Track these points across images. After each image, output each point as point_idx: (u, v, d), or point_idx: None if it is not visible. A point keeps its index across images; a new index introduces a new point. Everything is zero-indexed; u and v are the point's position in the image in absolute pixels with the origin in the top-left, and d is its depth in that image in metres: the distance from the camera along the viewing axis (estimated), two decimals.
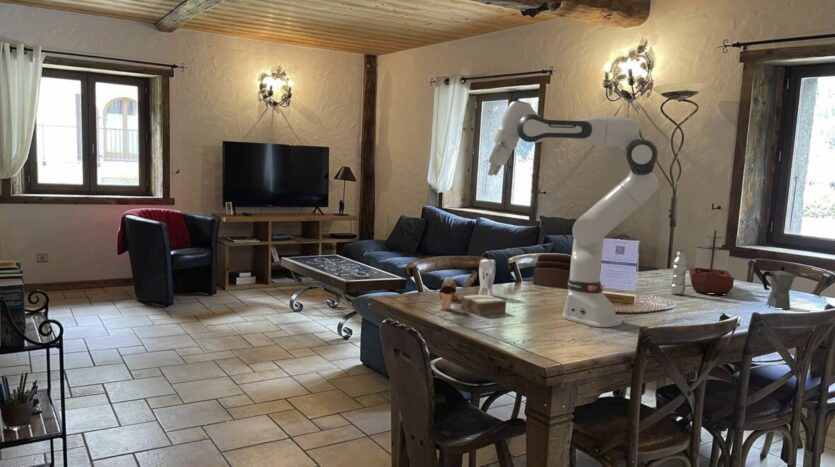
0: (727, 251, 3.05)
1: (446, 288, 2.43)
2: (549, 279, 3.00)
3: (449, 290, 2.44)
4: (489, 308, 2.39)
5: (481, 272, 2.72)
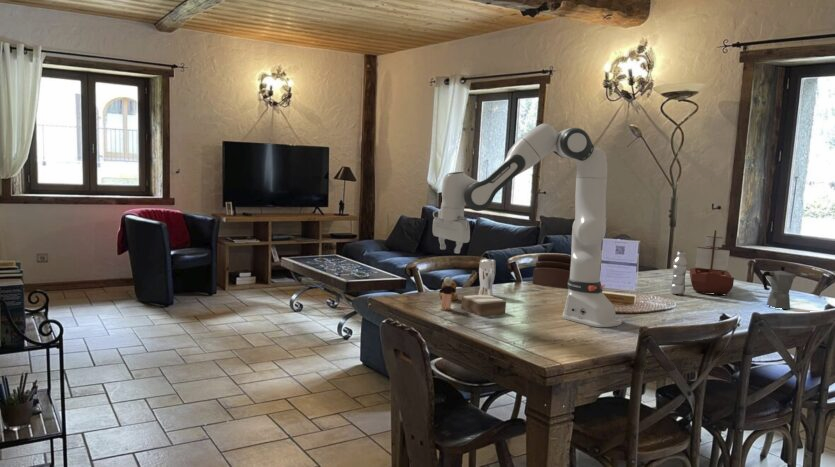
0: (727, 251, 3.05)
1: (446, 288, 2.43)
2: (549, 278, 3.01)
3: (449, 290, 2.44)
4: (489, 308, 2.39)
5: (481, 272, 2.72)
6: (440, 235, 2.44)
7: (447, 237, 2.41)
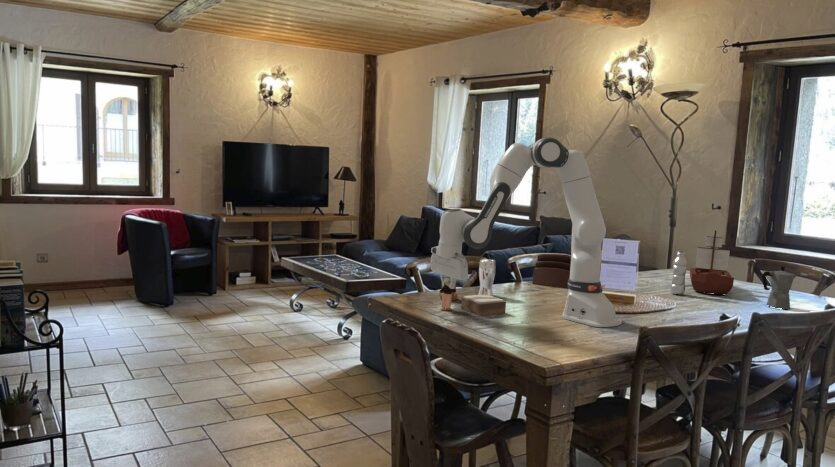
0: (727, 251, 3.05)
1: (446, 288, 2.43)
2: (549, 278, 3.01)
3: (449, 290, 2.44)
4: (489, 308, 2.39)
5: (481, 272, 2.72)
6: (439, 271, 2.46)
7: (445, 274, 2.42)
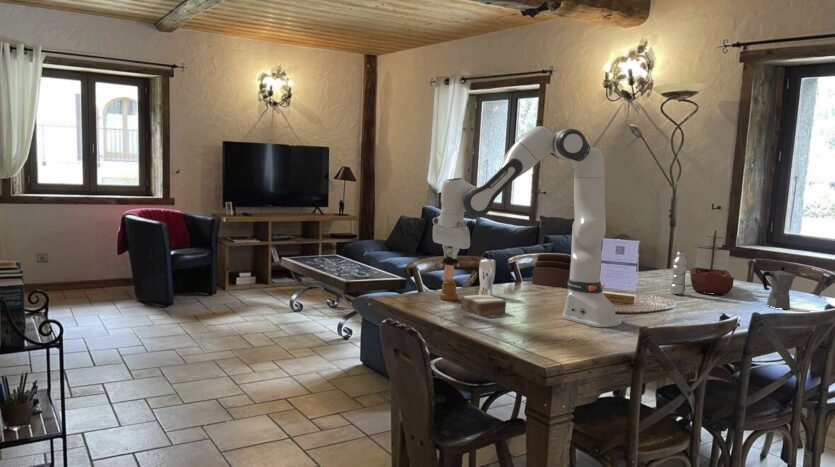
0: (727, 251, 3.05)
1: (448, 259, 2.42)
2: (548, 278, 3.02)
3: (451, 261, 2.42)
4: (489, 308, 2.39)
5: (481, 272, 2.72)
6: (441, 242, 2.45)
7: (447, 243, 2.41)
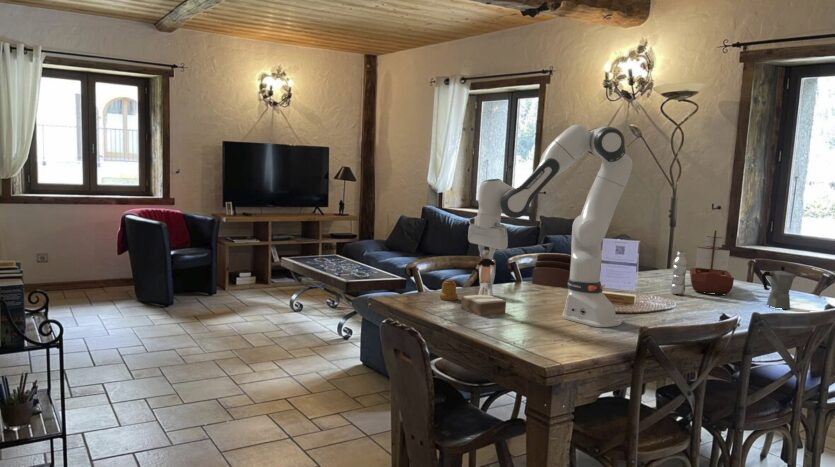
0: (727, 251, 3.05)
1: (485, 261, 2.42)
2: (548, 278, 3.02)
3: (488, 263, 2.42)
4: (489, 308, 2.39)
5: None
6: (477, 242, 2.45)
7: (484, 244, 2.41)
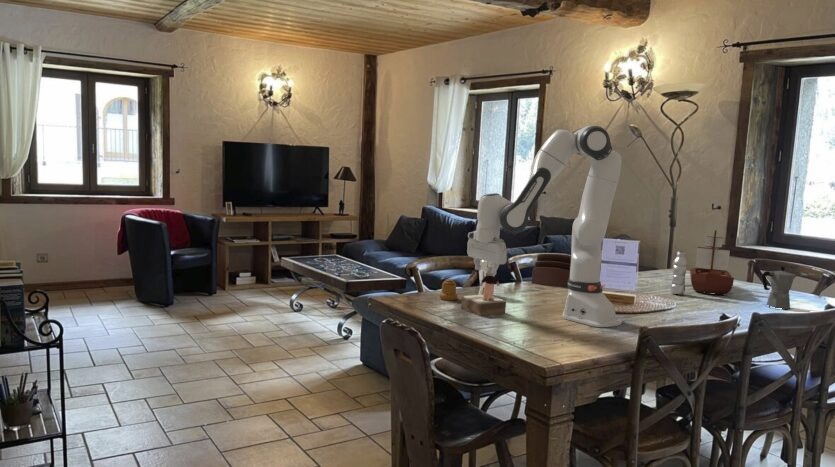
0: (727, 251, 3.05)
1: (488, 278, 2.41)
2: (548, 278, 3.03)
3: (491, 280, 2.41)
4: (489, 308, 2.39)
5: (481, 272, 2.72)
6: (476, 256, 2.46)
7: (483, 258, 2.42)
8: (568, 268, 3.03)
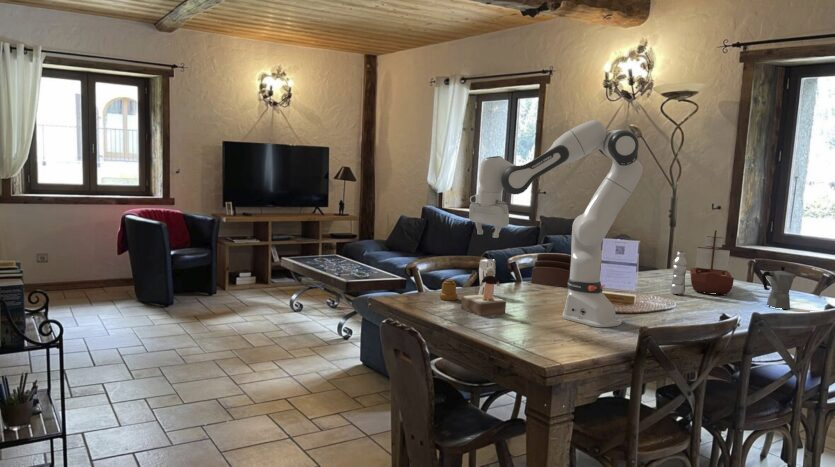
0: (727, 251, 3.05)
1: (488, 278, 2.41)
2: (547, 277, 3.03)
3: (491, 280, 2.41)
4: (489, 308, 2.39)
5: (481, 272, 2.72)
6: (478, 220, 2.44)
7: (485, 222, 2.41)
8: (568, 268, 3.04)
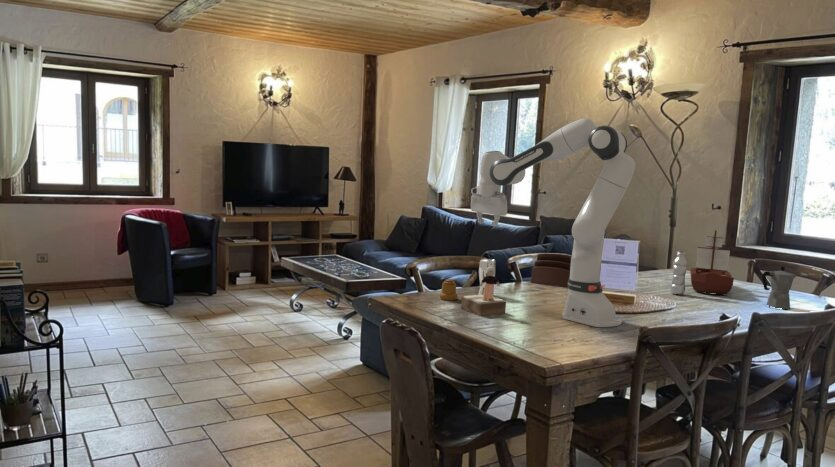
0: (727, 251, 3.05)
1: (488, 278, 2.41)
2: (547, 277, 3.04)
3: (491, 280, 2.41)
4: (489, 308, 2.39)
5: (481, 272, 2.72)
6: (479, 210, 2.65)
7: (485, 211, 2.61)
8: (567, 268, 3.04)
